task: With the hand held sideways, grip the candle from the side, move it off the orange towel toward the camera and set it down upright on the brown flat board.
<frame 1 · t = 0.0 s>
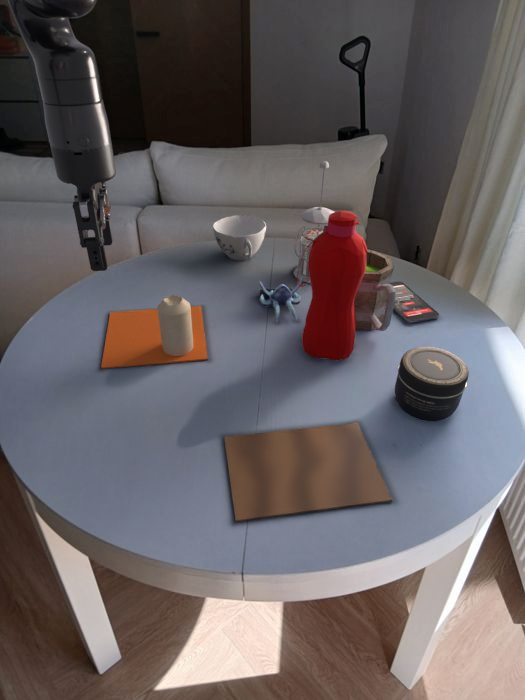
hand: (102, 256, 72), 20 cm above the table, tool pointing down, fingers open, 8 cm apart
teacup: (241, 258, 119), on the table
brown flat board: (302, 467, 66), on the table
water bottle: (322, 347, 90), on the table
mug: (362, 323, 97), on the table
figurine: (280, 307, 101), on the table
candle: (178, 348, 88), resting on towel
jar: (423, 403, 78), on the table
french press: (312, 275, 113), on the table
towel: (155, 335, 92), on the table
smartphone: (403, 303, 103), on the table
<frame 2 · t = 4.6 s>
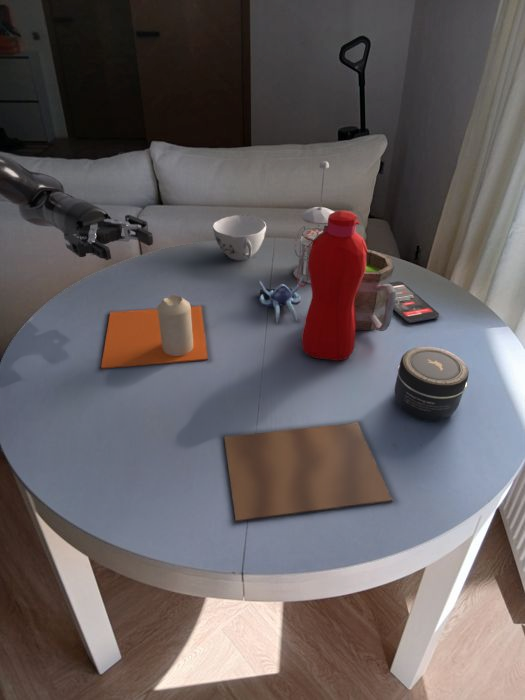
hand: (130, 247, 85), 16 cm above the table, tool horizontal, fingers open, 8 cm apart
nothing on the table moved.
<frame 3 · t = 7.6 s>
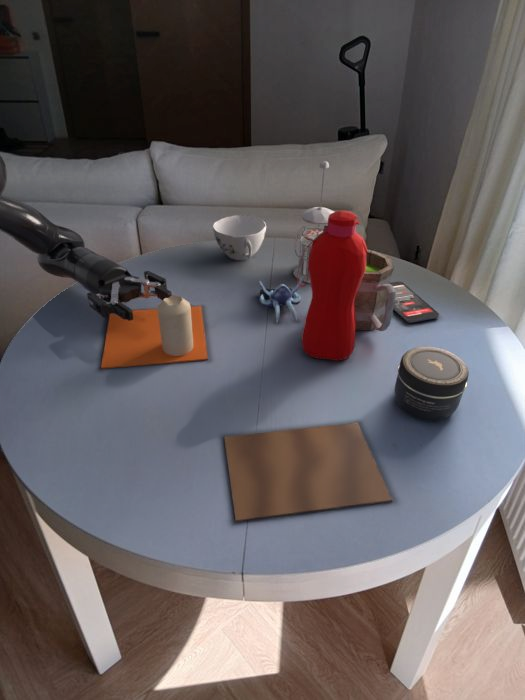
hand: (151, 306, 88), 6 cm above the table, tool horizontal, fingers open, 8 cm apart
nothing on the table moved.
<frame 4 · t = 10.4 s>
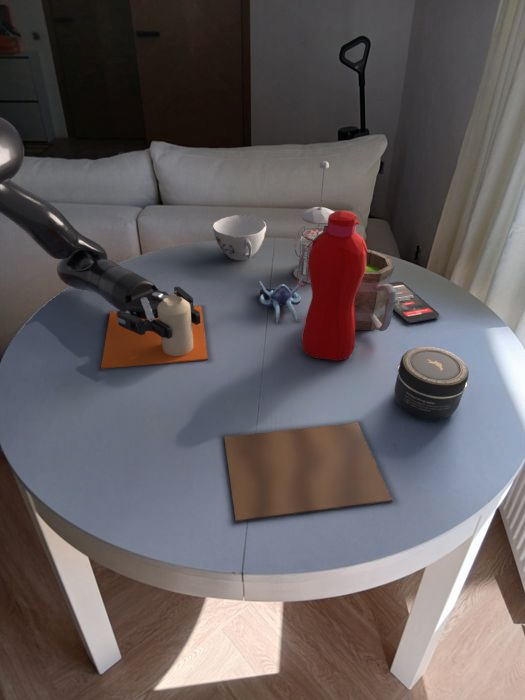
hand: (184, 326, 83), 6 cm above the table, tool horizontal, fingers closed on candle, 5 cm apart
candle: (178, 348, 88), resting on towel, touching gripper
everything else where it was.
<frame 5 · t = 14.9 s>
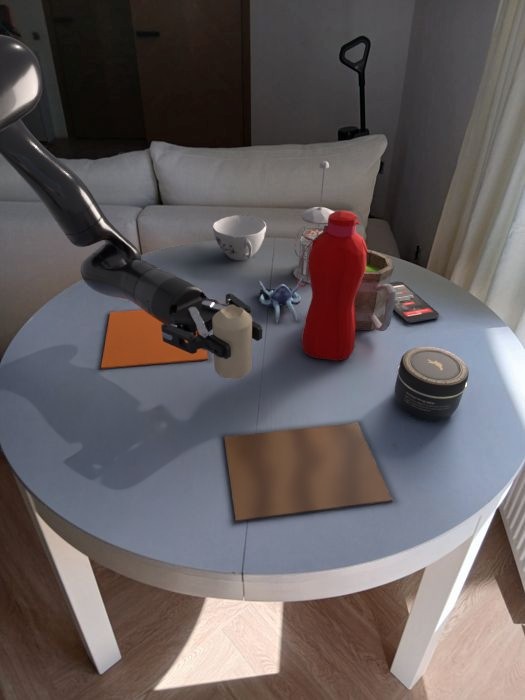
hand: (245, 343, 68), 13 cm above the table, tool horizontal, fingers closed on candle, 5 cm apart
candle: (232, 368, 73), point 7 cm above the table, touching gripper
everything else where it was.
when the fingers open (6 cm above the table, at t = 19.6 s): candle stays where it is, resting on brown flat board.
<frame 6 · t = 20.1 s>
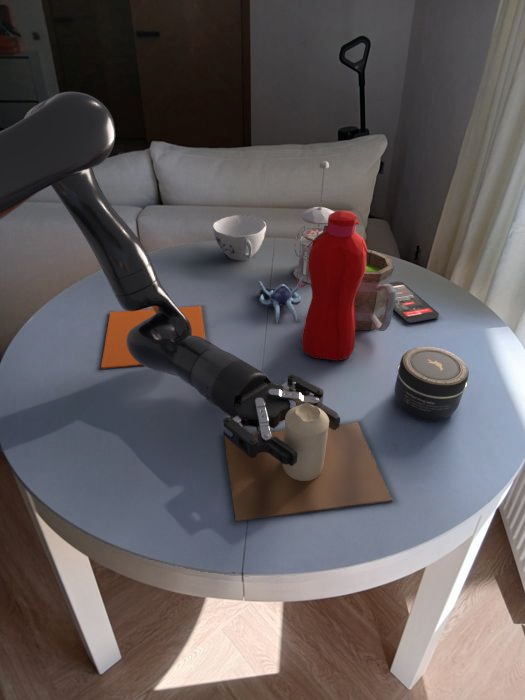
hand: (317, 441, 62), 7 cm above the table, tool horizontal, fingers open, 8 cm apart
candle: (302, 466, 67), resting on brown flat board
everything else where it was.
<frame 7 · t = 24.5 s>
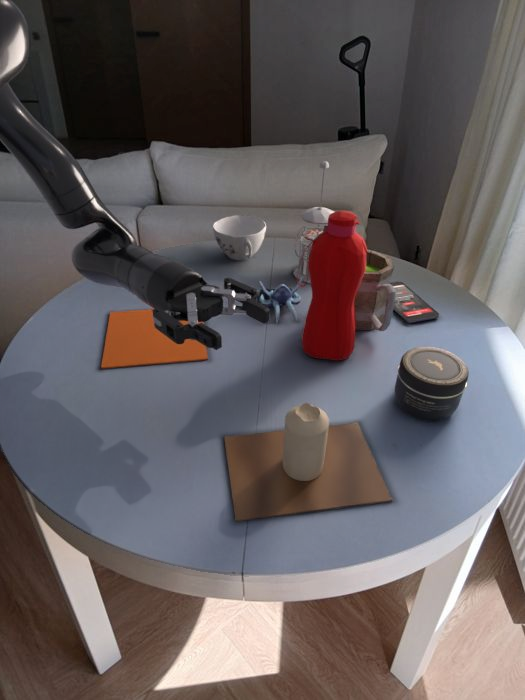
hand: (244, 329, 62), 17 cm above the table, tool horizontal, fingers open, 8 cm apart
nothing on the table moved.
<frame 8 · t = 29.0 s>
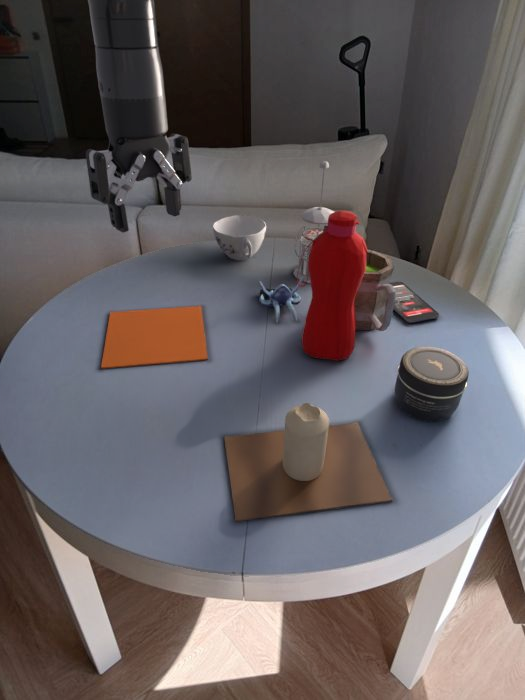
hand: (148, 222, 68), 26 cm above the table, tool pointing down, fingers open, 8 cm apart
nothing on the table moved.
at the end: candle inside the target area on the brown flat board (0.1 cm from its centre), point 0.1 cm above the brown flat board's base; candle touching brown flat board; candle tilted 0° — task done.
